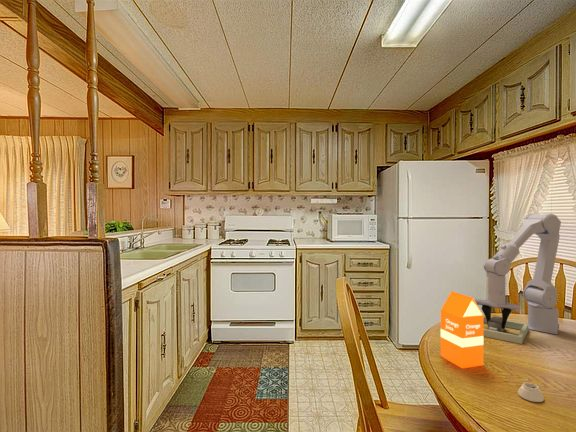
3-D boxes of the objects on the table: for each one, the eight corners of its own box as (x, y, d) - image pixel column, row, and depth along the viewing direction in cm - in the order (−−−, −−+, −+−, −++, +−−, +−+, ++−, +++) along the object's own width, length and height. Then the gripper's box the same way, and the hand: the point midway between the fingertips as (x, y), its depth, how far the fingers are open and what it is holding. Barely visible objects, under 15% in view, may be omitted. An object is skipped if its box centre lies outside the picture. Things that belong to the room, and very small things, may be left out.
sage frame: (528, 330, 126) (528, 324, 126) (521, 344, 113) (521, 337, 113) (475, 320, 138) (475, 314, 138) (463, 332, 125) (463, 325, 125)
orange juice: (462, 368, 95) (462, 298, 95) (440, 355, 104) (440, 291, 104) (484, 365, 97) (484, 296, 97) (460, 353, 106) (460, 290, 106)
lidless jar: (549, 403, 78) (532, 392, 83) (549, 390, 78) (532, 380, 83) (528, 403, 78) (513, 392, 83) (528, 391, 78) (513, 380, 83)
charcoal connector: (505, 328, 129) (505, 317, 129) (499, 337, 119) (499, 326, 119) (493, 325, 132) (493, 315, 131) (486, 334, 122) (486, 323, 122)
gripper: (472, 289, 128) (472, 325, 128) (518, 295, 118) (518, 334, 118) (476, 286, 133) (476, 320, 133) (520, 292, 123) (520, 329, 124)
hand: (496, 326), depth 126 cm, fingers closed on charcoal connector, 4 cm apart
